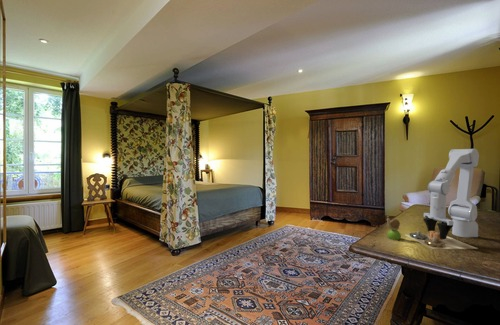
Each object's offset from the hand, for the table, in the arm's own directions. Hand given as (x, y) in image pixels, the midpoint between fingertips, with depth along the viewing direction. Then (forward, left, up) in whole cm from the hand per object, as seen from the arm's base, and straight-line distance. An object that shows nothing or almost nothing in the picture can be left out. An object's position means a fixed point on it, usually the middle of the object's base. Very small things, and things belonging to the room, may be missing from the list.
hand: (437, 236), depth 110 cm
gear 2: (+5, +5, -2) cm, 7 cm away
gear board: (0, 0, -3) cm, 3 cm away
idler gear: (0, 0, -1) cm, 1 cm away
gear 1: (+5, -5, -2) cm, 7 cm away
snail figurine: (+19, -3, -3) cm, 19 cm away
